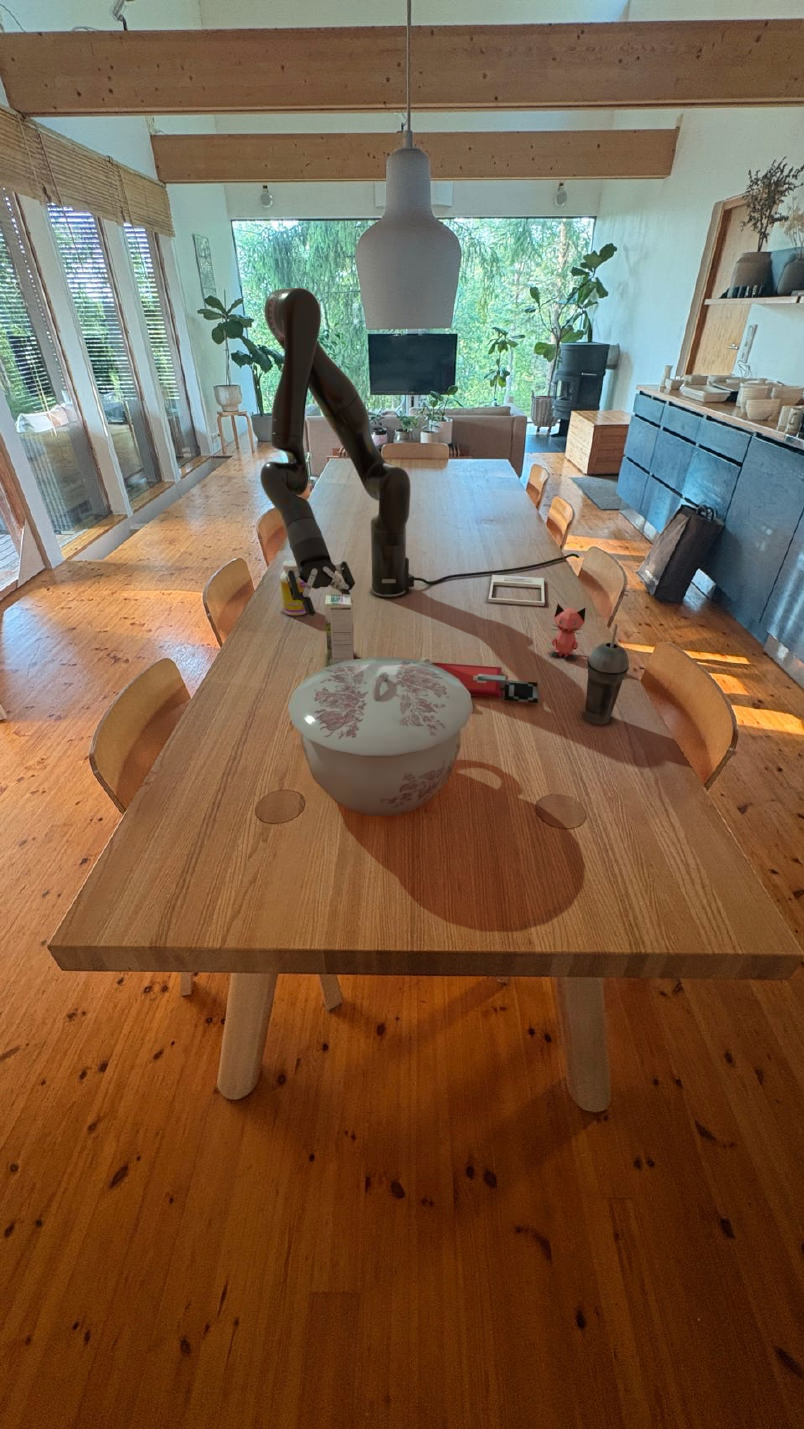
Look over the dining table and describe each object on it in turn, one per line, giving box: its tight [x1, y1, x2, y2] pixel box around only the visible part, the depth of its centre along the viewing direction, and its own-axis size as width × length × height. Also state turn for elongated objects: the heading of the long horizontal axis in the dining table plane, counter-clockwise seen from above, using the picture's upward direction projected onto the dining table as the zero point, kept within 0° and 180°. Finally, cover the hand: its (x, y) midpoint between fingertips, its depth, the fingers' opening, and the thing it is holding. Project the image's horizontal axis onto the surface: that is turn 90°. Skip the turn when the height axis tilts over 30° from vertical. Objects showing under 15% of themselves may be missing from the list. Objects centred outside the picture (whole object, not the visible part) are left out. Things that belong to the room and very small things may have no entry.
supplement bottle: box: [279, 559, 310, 617], centre depth 157 cm, size 7×7×13 cm
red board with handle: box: [431, 661, 539, 704], centre depth 128 cm, size 30×3×15 cm
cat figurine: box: [551, 603, 587, 661], centre depth 137 cm, size 7×7×12 cm
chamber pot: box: [287, 656, 474, 818], centre depth 96 cm, size 28×28×21 cm
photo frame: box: [487, 574, 546, 607], centre depth 171 cm, size 15×1×18 cm
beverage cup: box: [584, 623, 630, 725], centre depth 113 cm, size 7×7×20 cm
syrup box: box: [324, 593, 355, 667], centre depth 134 cm, size 6×6×14 cm
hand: (331, 611), depth 135 cm, fingers open, 8 cm apart
